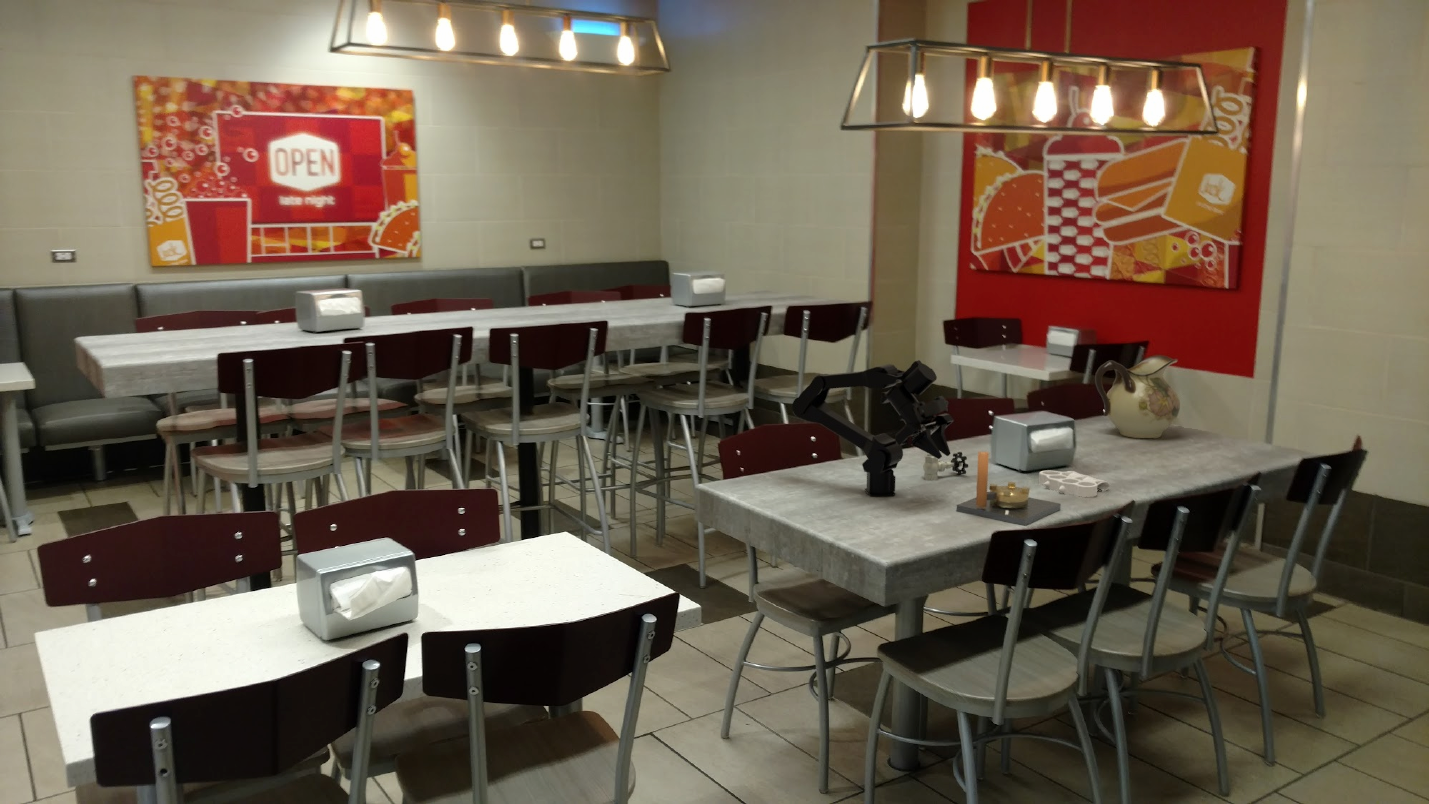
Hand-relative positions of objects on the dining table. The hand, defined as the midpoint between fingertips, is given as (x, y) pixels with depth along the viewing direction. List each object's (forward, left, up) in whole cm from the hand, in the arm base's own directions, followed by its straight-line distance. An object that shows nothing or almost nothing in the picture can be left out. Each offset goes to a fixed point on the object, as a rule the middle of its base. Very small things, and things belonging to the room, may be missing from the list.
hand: (944, 456), depth 265 cm
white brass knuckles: (+39, +12, -13) cm, 43 cm away
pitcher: (+89, +71, -13) cm, 114 cm away
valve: (+9, +28, -13) cm, 32 cm away
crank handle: (+12, -6, -11) cm, 17 cm away
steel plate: (+14, -6, -13) cm, 20 cm away
